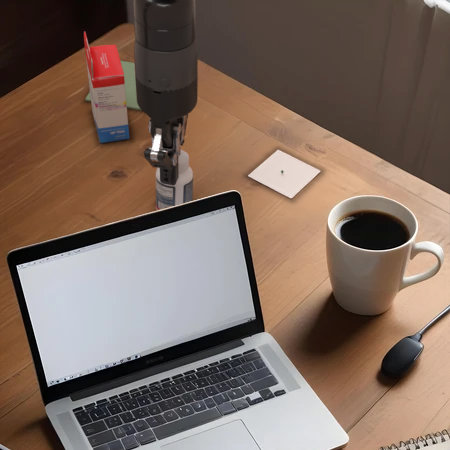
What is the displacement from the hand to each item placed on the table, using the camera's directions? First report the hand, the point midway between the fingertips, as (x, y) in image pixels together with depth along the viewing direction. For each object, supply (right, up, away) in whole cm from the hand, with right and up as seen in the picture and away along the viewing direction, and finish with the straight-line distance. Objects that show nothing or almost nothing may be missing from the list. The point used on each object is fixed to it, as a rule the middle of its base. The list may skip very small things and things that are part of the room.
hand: (169, 181), depth 113 cm
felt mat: (-8, +21, +26) cm, 34 cm away
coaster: (+17, +3, +13) cm, 21 cm away
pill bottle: (0, -3, +8) cm, 8 cm away
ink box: (-11, +12, +20) cm, 25 cm away
